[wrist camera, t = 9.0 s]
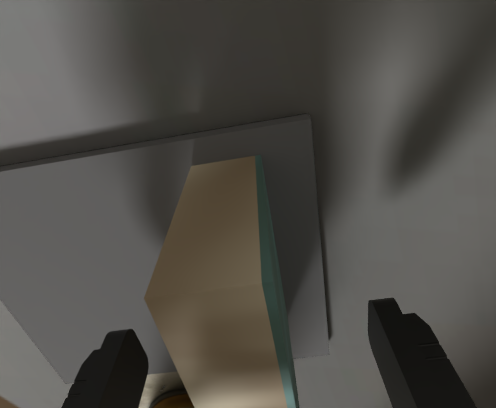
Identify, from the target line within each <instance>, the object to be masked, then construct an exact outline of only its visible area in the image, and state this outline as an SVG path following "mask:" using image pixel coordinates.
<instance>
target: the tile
mask: <svg viewBox="0 0 496 408" xmlns="http://www.w3.org/2000/svg"><path fill="white" fill-rule="evenodd" d="M144 300H145V302H146V304H147V306H148V309H149V311H150V313H151V315H152V317H153V319H154V321H155V324H156V326H157V328H158V330H159V332H160V334H161V337H162V339H163V341H164V343H165V345H166V347H167V349H168V352H169V354H170V356H171V358H172V360H173V362H174V365H175V367H176V369H177V371H178V373H179V375H180V378H181V380H182V382H183V384H184V386H185V388H186V390H187V393H188V395H189V397H190V399H191V401H192V403H193V406H194V408H299V401H298V393H297V386H296V378H295V370H294V363H293V355H292V347H291V340H290V332H289V325H288V317H287V311H286V305H285V299H284V293H283V287H282V280H281V274H280V268H279V262H278V256H277V250H276V244H275V238H274V232H273V226H272V220H271V214H270V207H269V201H268V195H267V189H266V183H265V177H264V171H263V165H262V159H261V155H256V156H250V157H244V158H237V159H231V160H225V161H219V162H213V163H207V164H201V165H195V166H191V168H190V171H189V174H188V176H187V179H186V182H185V185H184V188H183V190H182V193H181V196H180V199H179V202H178V204H177V207H176V210H175V213H174V216H173V218H172V221H171V224H170V227H169V229H168V232H167V235H166V238H165V241H164V243H163V246H162V249H161V252H160V255H159V257H158V260H157V263H156V266H155V269H154V271H153V274H152V277H151V280H150V283H149V285H148V288H147V291H146V294H145V296H144Z"/></svg>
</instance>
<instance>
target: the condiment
mask: <svg viewBox="0 0 496 408" xmlns="http://www.w3.org/2000/svg"><path fill="white" fill-rule="evenodd" d="M162 386H166V387H165V388H162ZM160 390H163V391H162V392H160ZM139 408H194V406H193V403H192V401H191V399H190V397H189V395H188V393H187V390H186V388H185V386H184V384H183V382H182V380H181V378H180V375H179V373H178V371H177V372H168V373H159V374H150V375H147V379H146V382H145V386H144V390H143V393H142V397H141V401H140V404H139Z"/></svg>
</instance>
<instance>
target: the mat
mask: <svg viewBox="0 0 496 408" xmlns="http://www.w3.org/2000/svg"><path fill="white" fill-rule="evenodd" d="M256 155H261V159H262V165H263V171H264V177H265V183H266V189H267V195H268V201H269V207H270V214H271V220H272V226H273V232H274V238H275V244H276V250H277V256H278V262H279V268H280V274H281V280H282V287H283V293H284V299H285V305H286V311H287V317H288V325H289V332H290V340H291V347H292V355H293V359H296V358H305V357H314V356H323V355H330V353H329V341H328V328H327V315H326V302H325V290H324V277H323V264H322V251H321V238H320V226H319V213H318V200H317V187H316V174H315V162H314V149H313V136H312V123H311V118H310V116H309V114H302V115H297V116H291V117H285V118H279V119H273V120H268V121H262V122H256V123H250V124H244V125H238V126H233V127H227V128H221V129H215V130H209V131H204V132H198V133H192V134H186V135H180V136H175V137H169V138H163V139H157V140H151V141H146V142H140V143H134V144H128V145H122V146H117V147H111V148H105V149H99V150H93V151H88V152H82V153H76V154H70V155H64V156H58V157H53V158H47V159H41V160H35V161H29V162H24V163H18V164H12V165H6V166H0V300H1V301H2V302H3V304H4V305H5V306H6V308H7V309H8V310H9V311H10V313H11V314H12V315H13V317H14V318H15V319H16V321H17V322H18V323H19V324H20V326H21V327H22V328H23V330H24V331H25V332H26V333H27V335H28V336H29V337H30V339H31V340H32V341H33V343H34V344H35V345H36V346H37V348H38V349H39V350H40V352H41V353H42V354H43V355H44V357H45V358H46V359H47V361H48V362H49V363H50V365H51V366H52V367H53V368H54V370H55V371H56V372H57V374H58V375H59V376H60V378H61V379H62V380H63V381H64V383H65V384H68V383H74V380H75V378H76V376H77V373H78V371H79V369H80V367H81V365H82V364H83V362H84V361H85V360H86V359H87V358H88V356H89V355H90V354H91V353H92V352H93V350H97V349H100V348H101V345H102V343H103V341H104V338H105V336H106V335H107V333H108V332H110V331H117V330H125V329H133V330H134V331H135V333H136V335H137V337H138V339H139V341H140V343H141V345H142V347H143V349H144V350H145V352H146V354H147V357H148V363H149V368H148V375H150V374H159V373H168V372H177V369H176V367H175V365H174V362H173V360H172V358H171V356H170V354H169V352H168V349H167V347H166V345H165V343H164V341H163V339H162V337H161V334H160V332H159V330H158V328H157V326H156V324H155V321H154V319H153V317H152V315H151V313H150V311H149V309H148V306H147V304H146V302H145V300H144V296H145V294H146V291H147V288H148V285H149V283H150V280H151V277H152V274H153V271H154V269H155V266H156V263H157V260H158V257H159V255H160V252H161V249H162V246H163V243H164V241H165V238H166V235H167V232H168V229H169V227H170V224H171V221H172V218H173V216H174V213H175V210H176V207H177V204H178V202H179V199H180V196H181V193H182V190H183V188H184V185H185V182H186V179H187V176H188V174H189V171H190V168H191V166H195V165H201V164H207V163H213V162H219V161H225V160H231V159H237V158H244V157H250V156H256Z"/></svg>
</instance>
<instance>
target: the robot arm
mask: <svg viewBox="0 0 496 408" xmlns="http://www.w3.org/2000/svg"><path fill="white" fill-rule="evenodd" d="M368 336H369V341H370V345H371V349H372V352H373V355H374V357H375V360H376V363H377V365H378V368H379V371H380V374H381V376H382V379H383V382H384V385H385V387H386V390H387V393H388V395H389V398H390V401H391V404H392V406H393V408H477V407H476V406H475V404H474V402H473V400H472V399H471V397H470V395H469V393H468V392H467V390H466V388H465V386H464V385H463V383H462V381H461V380H460V378H459V376H458V374H457V373H456V371H455V369H454V367H453V366H452V364H451V362H450V360H449V359H447V355H446V354H445V352H444V350H443V348H442V347H441V345H439V341H438V340H437V338H436V336H435V334H434V333H433V331H432V329H431V328H430V326H429V325H428V324H427V323H426V322H424V321H423V320H422V319H421V318H420V317H419V316H418V315H416V314H415V313H410V314H402V312H401V310H400V308H399V306H398V304H397V302H396V301H395V299H394V298H385V299H377V300H370V301H369V303H368ZM148 368H149V363H148V357H147V354H146V352H145V350H144V349H143V347H142V345H141V343H140V341H139V339H138V337H137V335H136V333H135V331H134V330H133V329H125V330H117V331H110V332H108V333H107V335H106V336H105V338H104V341H103V343H102V345H101V348H100V349H97V350H93V352H92V353H91V354H90V355H89V356H88V358H87V359H86V360H85V361H84V362H83V364H82V365H81V367H80V369H79V371H78V373H77V376H76V378H75V380H74V384H72V386H71V388H70V391H69V393H68V397H67V398H66V399H65V401H64V403H63V406H62V408H139V404H140V401H141V397H142V393H143V390H144V386H145V382H146V379H147V375H148Z"/></svg>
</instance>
